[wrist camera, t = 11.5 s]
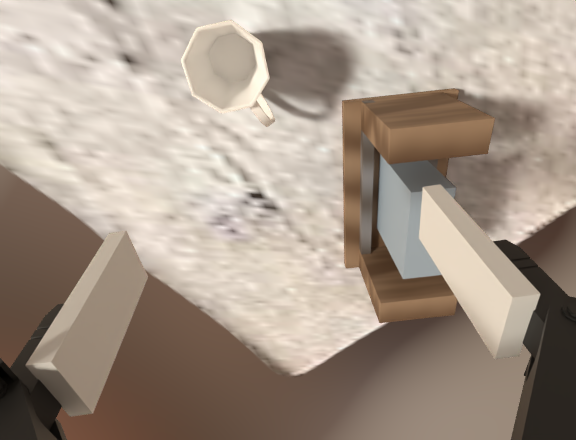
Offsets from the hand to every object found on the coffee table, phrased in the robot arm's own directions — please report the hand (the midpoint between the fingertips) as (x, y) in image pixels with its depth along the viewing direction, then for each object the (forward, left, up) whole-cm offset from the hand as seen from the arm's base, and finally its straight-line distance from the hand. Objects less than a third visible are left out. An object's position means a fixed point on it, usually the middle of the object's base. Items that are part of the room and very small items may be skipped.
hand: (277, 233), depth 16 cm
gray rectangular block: (+12, +14, -24) cm, 30 cm away
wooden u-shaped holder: (+12, +14, -25) cm, 31 cm away
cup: (-3, -2, -25) cm, 26 cm away
